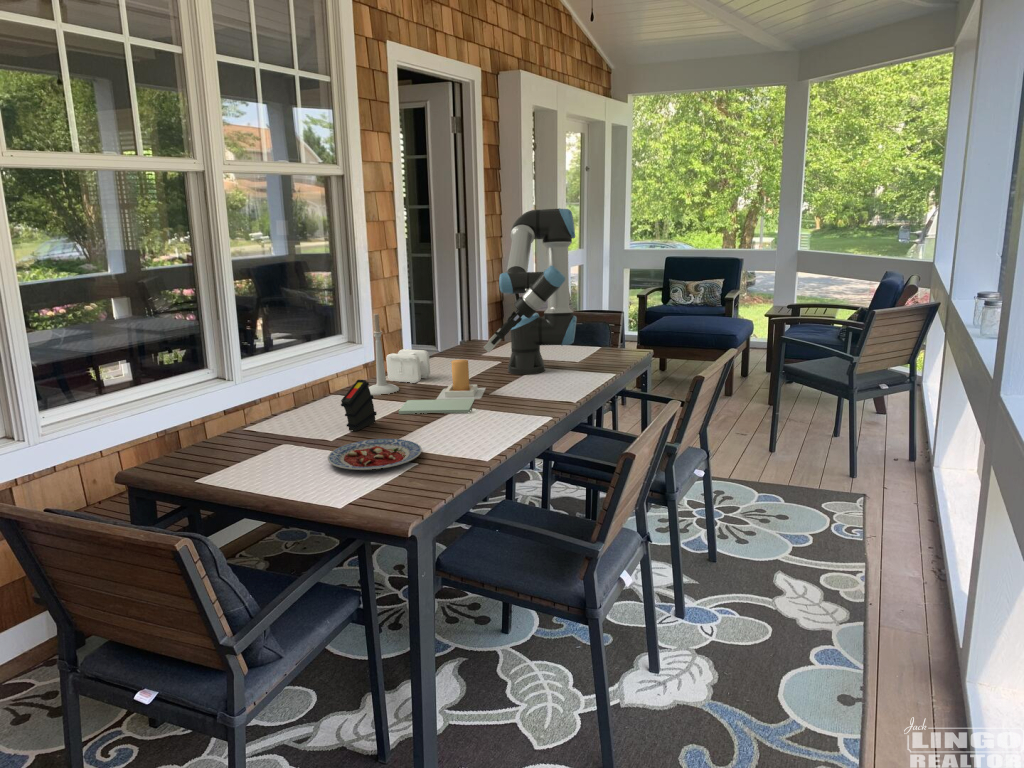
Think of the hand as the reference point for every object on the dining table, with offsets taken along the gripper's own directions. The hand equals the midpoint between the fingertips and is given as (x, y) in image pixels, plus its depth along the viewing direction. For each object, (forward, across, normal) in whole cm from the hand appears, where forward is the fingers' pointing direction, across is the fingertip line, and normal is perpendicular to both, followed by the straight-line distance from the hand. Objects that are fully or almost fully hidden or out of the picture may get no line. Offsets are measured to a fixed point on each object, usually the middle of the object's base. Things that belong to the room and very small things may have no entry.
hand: (488, 346), depth 274 cm
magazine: (+40, +37, -13) cm, 56 cm away
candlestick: (+43, -11, -17) cm, 48 cm away
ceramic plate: (+31, +68, -3) cm, 75 cm away
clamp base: (+20, -1, +5) cm, 21 cm away
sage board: (+25, +15, +1) cm, 29 cm away
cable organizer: (+38, -28, -13) cm, 48 cm away
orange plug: (+20, -1, +4) cm, 20 cm away
